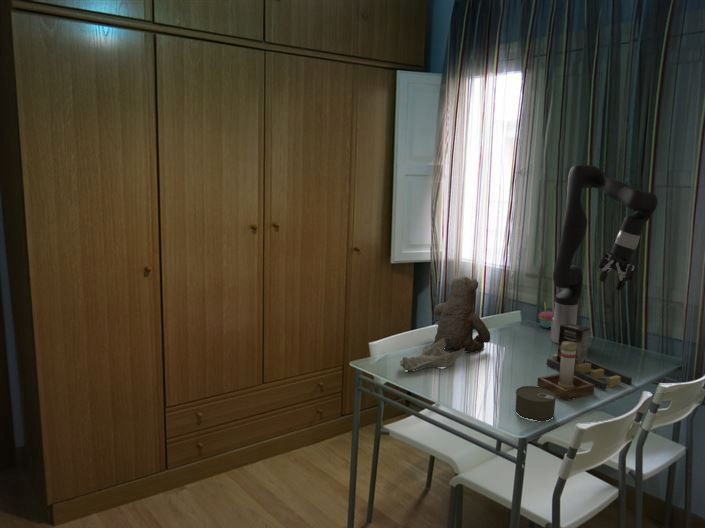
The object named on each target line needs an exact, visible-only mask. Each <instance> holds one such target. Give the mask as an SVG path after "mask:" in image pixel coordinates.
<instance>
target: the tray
mask: <svg viewBox="0 0 705 528" xmlns="http://www.w3.org/2000/svg"><path fill="white" fill-rule="evenodd" d="M559 374H560V372H559V373H554V374H550V375H545V376H544V375H543V376H540V377H537V386H539V387H542V388H545V389H548V390H550V391H552V392H554V393H555V394H556V397H557V396H558V397H557V398H559V397H560V398H559V399H561V398H562V399H561V400H563V399H564V400H563V401H565V400H566V401H569V400H568V399H570V400H574V399H573V398H575V399H578V398H577V397H579V398H583V397H582V396H584V397H588V396H590V395H592V396H593V395H594V394H595V388H596V387H595V385H594V384H591V383H589V382H587V381H585V380H583V379H580V378H578V377H576V376H574V378H573V388H570V389H564V388H562V387H560V386H558V382H559ZM537 386H536V387H537ZM587 395H588V396H587Z"/></svg>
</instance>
